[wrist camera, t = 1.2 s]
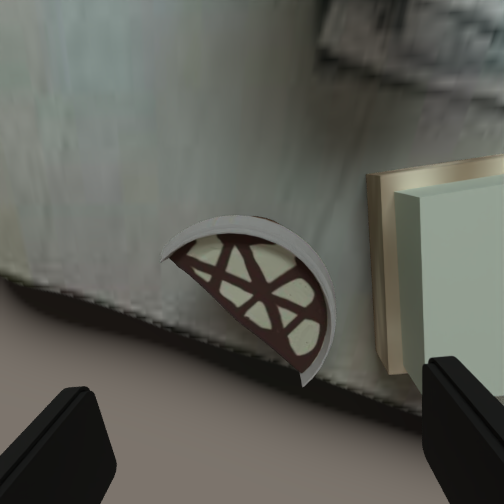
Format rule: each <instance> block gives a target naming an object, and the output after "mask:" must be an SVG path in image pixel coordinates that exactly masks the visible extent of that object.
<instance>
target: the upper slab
mask: <svg viewBox="0 0 504 504" xmlns="http://www.w3.org/2000/svg"><path fill="white" fill-rule="evenodd" d="M394 200H395V219H396V238H397V257H398V276H399V295H400V314H401V333H402V352H403V366H404V367H405V369H406V371H407V372H408V374H409V375H410V377H411V379H412V380H413V382H414V383H415V385H416V387H417V388H418V390H419V391H420V393H421V394H422V366H423V364H428V360H429V358H431V357H443V356H455V357H456V358H457V359H458V360H459V361H460V362H461V363H462V364H463V365H464V366H465V367H466V368H467V369H468V370H469V371H470V372H471V373H472V374H473V375H474V376H475V377H476V378H477V379H478V380H479V381H480V382H481V383H482V384H483V385H484V386H485V387H486V388H487V389H488V390H489V391H490V392H491V394H492V395H493V396H504V174H500V175H494V176H488V177H482V178H476V179H469V180H463V181H457V182H451V183H444V184H438V185H432V186H426V187H420V188H413V189H407V190H401V191H395V192H394Z"/></svg>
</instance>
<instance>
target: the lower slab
mask: <svg viewBox="0 0 504 504" xmlns="http://www.w3.org/2000/svg"><path fill="white" fill-rule="evenodd" d="M500 174H504V154H498V155H491V156H485V157H478V158H471V159H465V160H458V161H451V162H445V163H438V164H431V165H425V166H418V167H411V168H405V169H398V170H391V171H385V172H378V173H371V174H366V182H367V200H368V218H369V237H370V255H371V273H372V292H373V310H374V328H375V346H376V352H377V354H378V356H379V357H380V359H381V361H382V363H383V365H384V367H385V369H386V370H387V372H388V374H389V375H393V374H406V373H408V372H407V371H406V369H405V367H404V366H403V352H402V333H401V314H400V295H399V276H398V257H397V238H396V219H395V200H394V192H395V191H401V190H407V189H413V188H420V187H426V186H432V185H438V184H444V183H451V182H457V181H463V180H469V179H476V178H482V177H488V176H494V175H500Z"/></svg>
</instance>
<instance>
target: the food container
mask: <svg viewBox="0 0 504 504" xmlns="http://www.w3.org/2000/svg"><path fill="white" fill-rule="evenodd" d="M160 256H162V257H163V258H162V259H161V260H160V261H159V262H162V261H164V260H166V259H168V258H170V259H171V260H172V261H173V262H174V263H175V264H176V265H177V266H178V267H179V268H181V269H182V270H184V271H185V272H186V273H187V274H189V275H190V276H191V277H192V278H193V279H194V280H195V281H197V282H198V283H199V284H200V285H201V286H202V287H203V288H204V289H205V290H206V291H207V292H208V293H210V294H211V295H212V296H213V297H214V298H215V299H216V300H217V301H218V302H219V303H220V304H221V305H222V306H223V307H224V308H225V309H226V310H227V311H228V312H229V313H230V314H231V315H232V316H233V317H234V318H235V319H236V320H237V321H238V322H239V323H241V324H242V325H243V326H245V327H246V328H247V329H248V330H250V331H251V332H252V333H254V334H255V335H257V336H258V337H259V338H260V339H262V340H263V341H264V342H265V343H267V344H268V345H269V346H270V347H271V348H273V349H274V350H275V351H276V352H277V353H278V354H279V355H281V356H282V357H283V358H284V359H285V360H286V361H287V362H289V363H290V364H291V365H292V366H293V367H294V368H295V369H297V370H298V371H299V372H300V377H301V381H302V386H303V387H304V386H305V385H306V384H307V383H308V382H309V381H310V380H311V379H312V378H313V377H314V376H315V374H316V373H317V372H318V370H319V369H320V368H321V366H322V364H323V362H324V360H325V358H326V356H327V354H328V352H329V351H330V348H331V345H332V341H333V338H334V333H335V326H336V296H335V291H334V287H333V282H332V280H331V277H330V275H329V273H328V270H327V268H326V266H325V265H324V263H323V262H322V260H321V258H320V257H319V255H318V254H317V253H316V252H315V251H314V250H313V249H312V247H311V246H310V245H309V244H308V243H307V242H305V241H304V240H303V239H302V238H301V237H299V236H298V235H297V234H296V233H294V232H292V231H290V230H289V229H287V228H285V227H283V226H282V225H280V224H279V223H277V222H275V221H273V220H270V219H267V218H263V217H258V216H239V215H230V216H221V217H215V218H211V219H208V220H204V221H201V222H199V223H196V224H194V225H192V226H190V227H188V228H186V229H185V230H183V231H182V232H180V233H179V234H177V235H176V236H174V237H173V238H172V239H171V240H170V241H169V242H168V243H167V244H166V245H165V246H164V248H163V250H162V252H161V254H160Z"/></svg>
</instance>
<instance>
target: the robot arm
mask: <svg viewBox="0 0 504 504" xmlns="http://www.w3.org/2000/svg"><path fill="white" fill-rule="evenodd" d="M422 446H423V450H424V454H425V457H426V459H427V462H428V463H429V465H430V467H431V469H432V471H433V473H434V475H435V477H436V479H437V480H438V482H439V484H440V486H441V488H442V490H443V492H444V494H445V495H446V497H447V499H448V501H449V503H450V504H504V406H503V405H502V404H501V403H500V402H499V401H498V400H497V399H496V398H495V397H494V396H493V395H492V394H491V392H490V391H489V390H488V389H487V388H486V387H485V386H484V385H483V384H482V383H481V382H480V381H479V380H478V379H477V378H476V377H475V376H474V375H473V374H472V373H471V372H470V371H469V370H468V369H467V368H466V367H465V366H464V365H463V364H462V363H461V362H460V361H459V360H458V359H457V358H456V357H455V356H443V357H431V358H429V360H428V364H423V366H422ZM116 467H117V463H116V459H115V456H114V453H113V450H112V446H111V443H110V440H109V437H108V434H107V431H106V428H105V425H104V422H103V419H102V415H101V412H100V409H99V406H98V403H97V400H96V397H95V394H94V393H93V392H92V391H90V390H89V388H88V387H85V386H82V387H69V388H65V389H63V390H62V391H61V392H60V393H59V394H58V395H57V396H56V397H55V398H54V399H53V400H52V401H51V403H50V404H49V405H48V406H47V407H46V408H45V409H44V410H43V411H42V412H41V413H40V414H39V415H38V416H37V417H36V419H34V421H33V422H32V423H31V424H30V425H29V426H28V427H27V428H26V429H25V430H24V431H23V432H22V433H21V435H19V436H18V438H17V439H16V440H15V441H14V442H13V443H12V444H11V445H10V446H9V447H8V448H7V449H6V450H5V451H4V452H3V453H2V454H1V455H0V504H100V503H101V501H102V499H103V497H104V495H105V493H106V492H107V490H108V488H109V486H110V484H111V482H112V480H113V478H114V475H115V473H116Z"/></svg>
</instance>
